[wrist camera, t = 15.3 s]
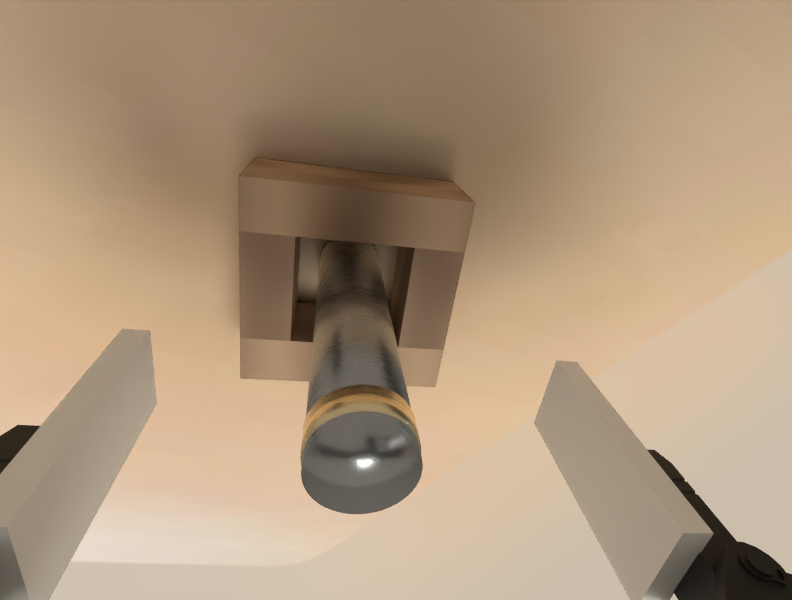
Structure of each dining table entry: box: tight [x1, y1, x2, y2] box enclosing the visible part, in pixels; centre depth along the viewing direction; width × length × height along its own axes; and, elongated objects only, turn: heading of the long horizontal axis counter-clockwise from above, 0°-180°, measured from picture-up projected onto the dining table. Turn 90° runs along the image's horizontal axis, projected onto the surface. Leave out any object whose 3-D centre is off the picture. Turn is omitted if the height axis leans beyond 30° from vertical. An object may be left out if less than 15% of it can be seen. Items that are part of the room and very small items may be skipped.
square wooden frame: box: [239, 158, 475, 387], centre depth 22 cm, size 9×9×4 cm
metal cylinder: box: [301, 240, 423, 514], centre depth 18 cm, size 3×3×14 cm
